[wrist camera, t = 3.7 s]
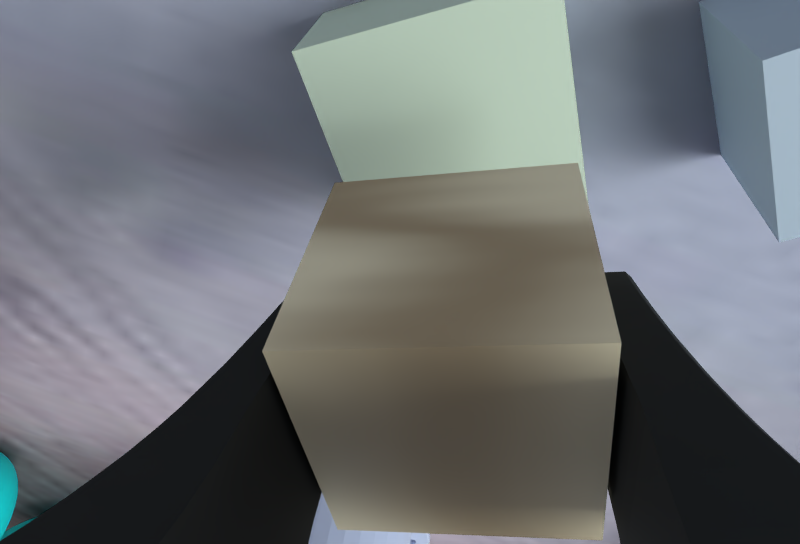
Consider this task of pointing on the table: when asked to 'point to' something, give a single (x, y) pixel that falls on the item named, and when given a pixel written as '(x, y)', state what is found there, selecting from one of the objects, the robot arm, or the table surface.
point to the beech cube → (454, 355)
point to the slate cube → (758, 101)
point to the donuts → (8, 496)
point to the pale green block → (442, 86)
